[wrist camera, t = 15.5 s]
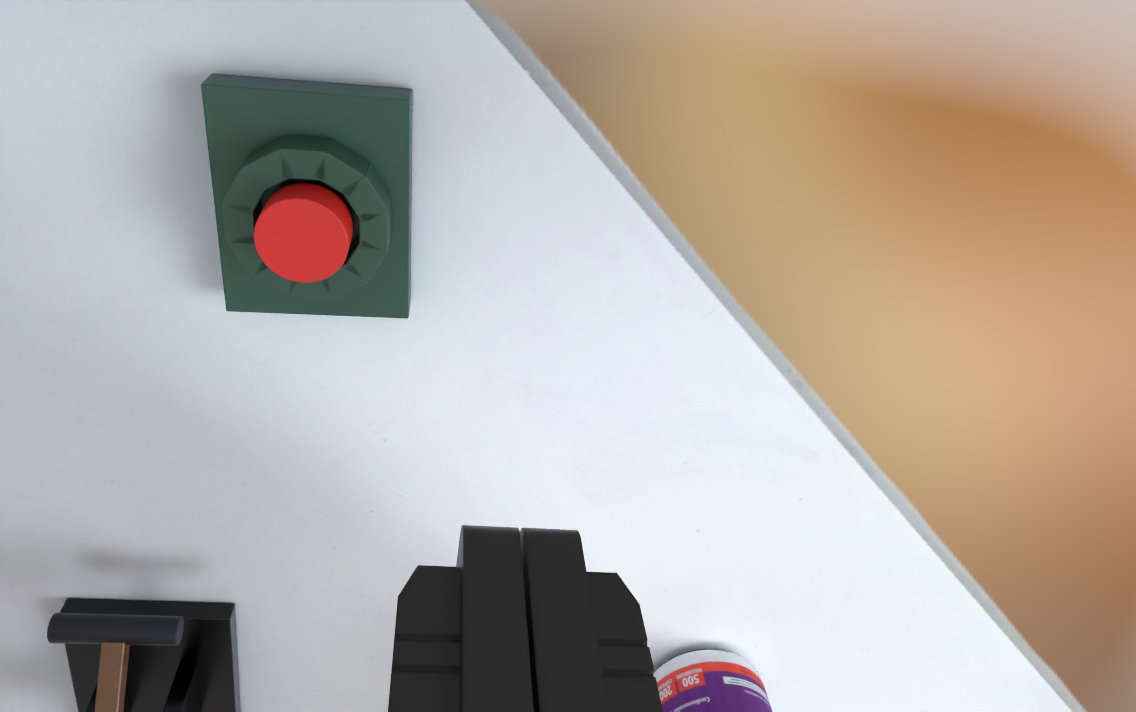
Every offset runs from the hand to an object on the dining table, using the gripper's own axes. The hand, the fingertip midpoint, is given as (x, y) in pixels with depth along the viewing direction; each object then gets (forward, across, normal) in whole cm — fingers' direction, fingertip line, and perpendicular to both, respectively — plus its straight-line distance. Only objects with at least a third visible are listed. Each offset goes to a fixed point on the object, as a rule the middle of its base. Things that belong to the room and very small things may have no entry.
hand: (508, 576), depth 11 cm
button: (+26, +6, +7) cm, 27 cm away
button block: (+29, +6, +7) cm, 30 cm away
